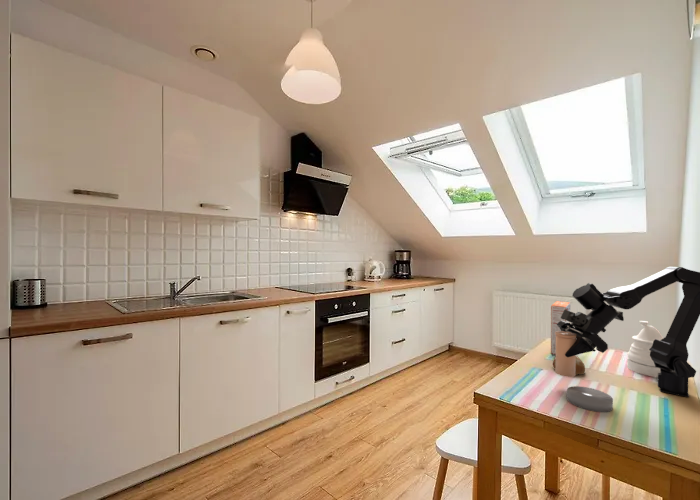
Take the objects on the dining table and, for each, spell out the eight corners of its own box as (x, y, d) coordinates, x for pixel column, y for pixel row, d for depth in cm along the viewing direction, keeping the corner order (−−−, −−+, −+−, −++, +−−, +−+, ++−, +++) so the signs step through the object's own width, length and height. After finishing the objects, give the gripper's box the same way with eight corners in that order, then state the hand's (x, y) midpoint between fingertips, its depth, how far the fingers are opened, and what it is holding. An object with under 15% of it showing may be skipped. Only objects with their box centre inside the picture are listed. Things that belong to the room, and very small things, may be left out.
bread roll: (586, 385, 120) (596, 365, 120) (560, 373, 120) (570, 353, 120) (568, 375, 130) (578, 356, 130) (544, 363, 130) (554, 344, 130)
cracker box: (554, 346, 155) (555, 300, 155) (570, 348, 151) (571, 302, 151) (549, 353, 144) (550, 304, 144) (566, 356, 140) (567, 306, 140)
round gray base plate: (613, 401, 100) (613, 393, 100) (611, 416, 92) (612, 406, 91) (569, 391, 107) (569, 383, 107) (564, 403, 99) (564, 395, 98)
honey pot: (623, 370, 126) (624, 321, 126) (630, 362, 134) (631, 317, 134) (671, 380, 116) (672, 328, 116) (675, 371, 125) (676, 323, 124)
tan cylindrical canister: (577, 373, 110) (577, 333, 110) (574, 378, 106) (575, 337, 105) (556, 368, 114) (556, 330, 114) (553, 373, 109) (553, 333, 109)
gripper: (562, 297, 118) (529, 328, 119) (597, 307, 100) (558, 343, 101) (586, 320, 118) (552, 350, 119) (625, 334, 99) (585, 370, 100)
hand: (560, 353), depth 110 cm, fingers closed on tan cylindrical canister, 5 cm apart
